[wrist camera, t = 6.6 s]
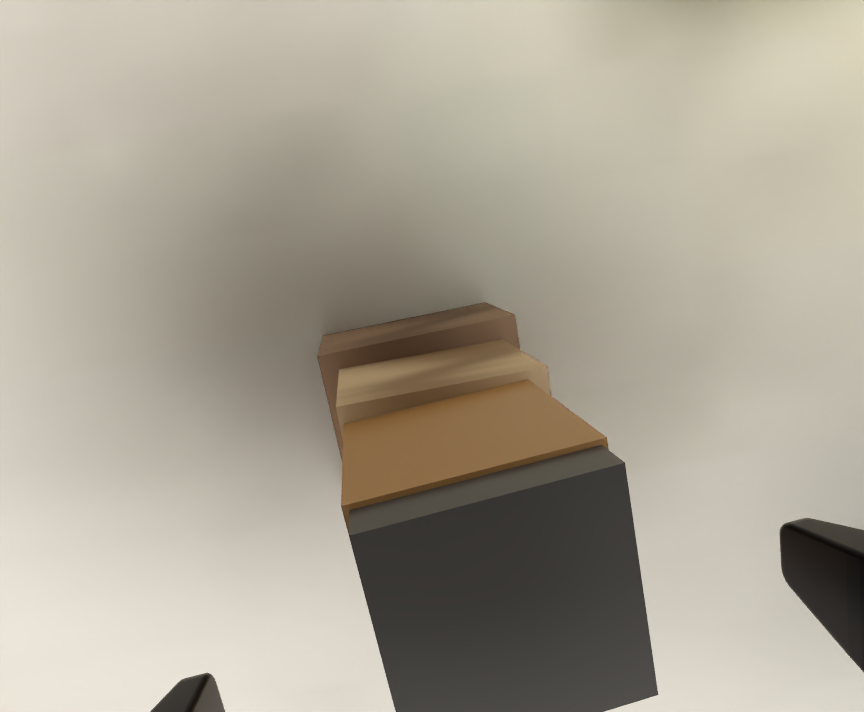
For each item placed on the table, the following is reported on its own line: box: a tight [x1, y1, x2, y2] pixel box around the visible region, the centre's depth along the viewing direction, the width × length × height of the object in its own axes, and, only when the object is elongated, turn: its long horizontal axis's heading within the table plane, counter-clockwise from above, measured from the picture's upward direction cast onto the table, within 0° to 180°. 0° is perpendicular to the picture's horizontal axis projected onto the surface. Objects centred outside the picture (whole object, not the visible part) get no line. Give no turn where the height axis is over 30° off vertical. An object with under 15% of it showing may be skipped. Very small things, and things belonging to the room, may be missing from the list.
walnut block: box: [317, 303, 520, 463], centre depth 19 cm, size 6×6×4 cm
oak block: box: [336, 339, 551, 440], centre depth 16 cm, size 5×5×4 cm
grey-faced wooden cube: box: [341, 379, 658, 712], centre depth 11 cm, size 4×4×5 cm
